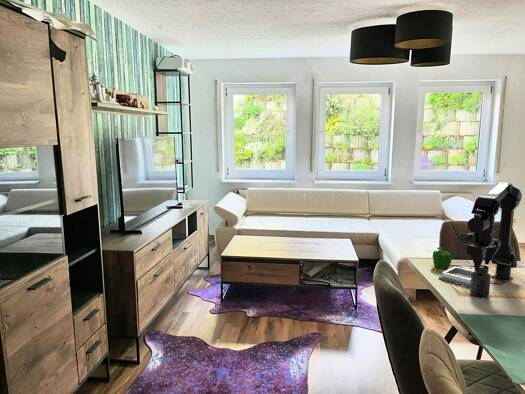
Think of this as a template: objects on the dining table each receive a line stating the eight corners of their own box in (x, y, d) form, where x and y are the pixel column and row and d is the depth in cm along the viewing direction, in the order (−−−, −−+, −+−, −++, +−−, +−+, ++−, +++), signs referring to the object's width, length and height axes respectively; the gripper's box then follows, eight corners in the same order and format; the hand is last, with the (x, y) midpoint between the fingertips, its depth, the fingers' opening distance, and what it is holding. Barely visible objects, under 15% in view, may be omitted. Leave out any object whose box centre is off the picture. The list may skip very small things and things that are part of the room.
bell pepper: (452, 266, 192) (453, 246, 190) (449, 272, 185) (451, 251, 183) (433, 263, 196) (434, 244, 194) (430, 268, 189) (431, 248, 188)
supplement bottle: (491, 299, 155) (494, 269, 153) (472, 298, 156) (475, 268, 154) (485, 292, 162) (488, 264, 160) (467, 291, 163) (469, 263, 161)
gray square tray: (453, 271, 185) (453, 265, 185) (485, 280, 175) (486, 273, 174) (438, 278, 176) (439, 272, 176) (471, 288, 166) (472, 281, 165)
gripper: (473, 221, 166) (470, 257, 169) (453, 228, 155) (450, 267, 157) (503, 225, 158) (499, 263, 161) (483, 234, 146) (480, 274, 149)
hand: (481, 266), depth 157 cm, fingers open, 9 cm apart
